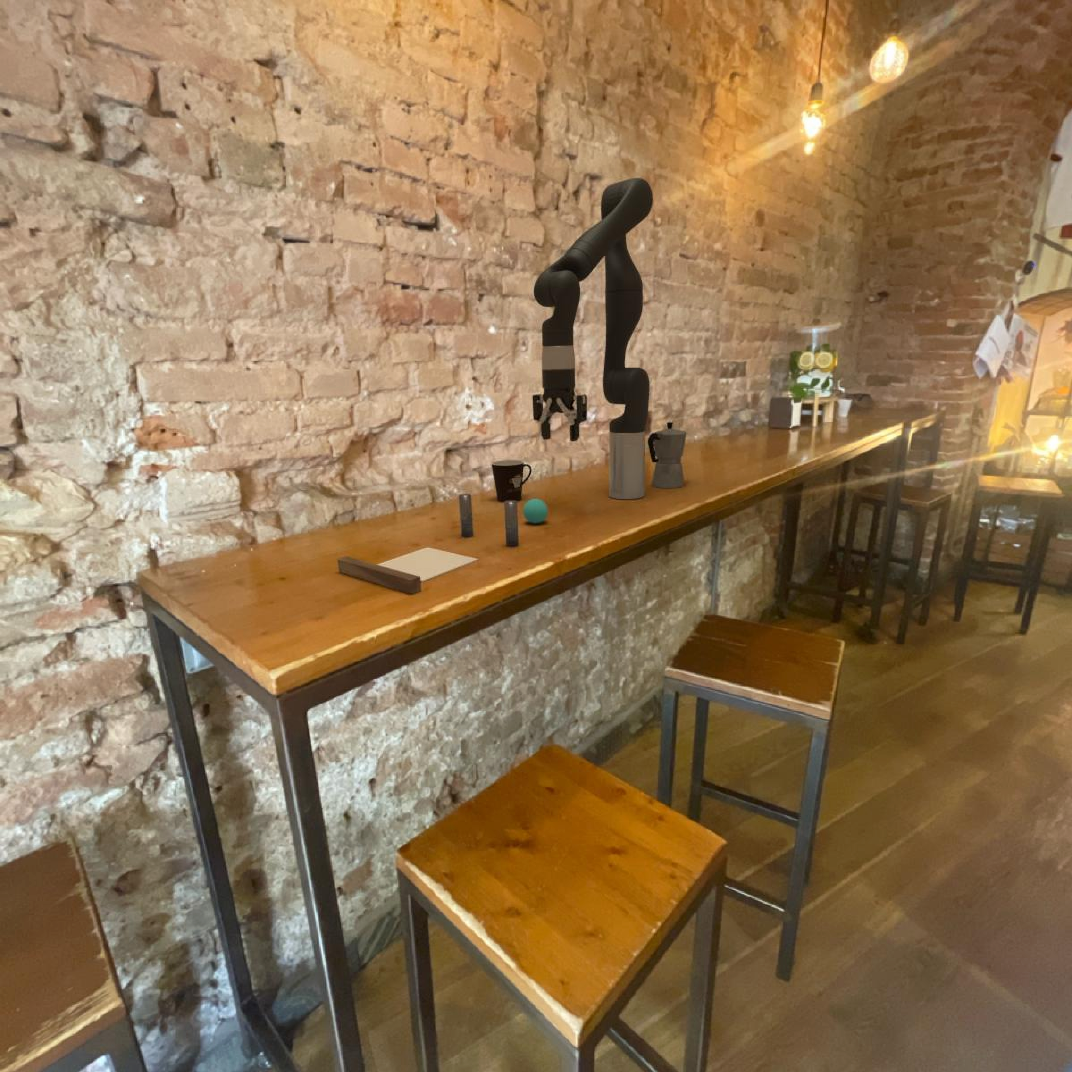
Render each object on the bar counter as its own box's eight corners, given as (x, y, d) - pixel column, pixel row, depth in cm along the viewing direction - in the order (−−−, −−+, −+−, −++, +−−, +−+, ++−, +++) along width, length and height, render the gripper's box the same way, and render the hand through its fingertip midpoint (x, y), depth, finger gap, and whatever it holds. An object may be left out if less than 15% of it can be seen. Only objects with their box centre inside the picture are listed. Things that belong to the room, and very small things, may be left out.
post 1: (467, 533, 135) (464, 493, 132) (475, 535, 133) (473, 494, 131) (458, 536, 133) (456, 495, 130) (467, 538, 131) (464, 496, 129)
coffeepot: (669, 479, 184) (671, 419, 179) (695, 484, 177) (698, 420, 172) (634, 487, 175) (635, 423, 170) (660, 492, 168) (662, 426, 163)
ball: (533, 518, 145) (533, 495, 143) (552, 521, 142) (552, 498, 140) (518, 524, 141) (517, 500, 139) (538, 527, 137) (537, 503, 136)
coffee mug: (497, 504, 160) (495, 466, 157) (490, 497, 168) (488, 461, 165) (539, 500, 163) (538, 463, 160) (531, 494, 171) (530, 458, 168)
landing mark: (427, 548, 125) (427, 547, 125) (478, 560, 117) (477, 559, 117) (371, 567, 115) (371, 566, 114) (422, 581, 106) (422, 580, 106)
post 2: (511, 542, 127) (509, 499, 125) (521, 544, 126) (519, 501, 123) (503, 545, 125) (501, 502, 123) (513, 547, 124) (511, 504, 121)
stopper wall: (348, 569, 114) (346, 556, 113) (421, 590, 102) (420, 576, 101) (339, 572, 113) (337, 559, 112) (412, 594, 101) (410, 580, 100)
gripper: (594, 366, 138) (594, 439, 142) (543, 367, 146) (545, 436, 151) (575, 367, 132) (576, 444, 137) (523, 368, 141) (526, 440, 145)
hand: (560, 440), depth 144 cm, fingers open, 7 cm apart
